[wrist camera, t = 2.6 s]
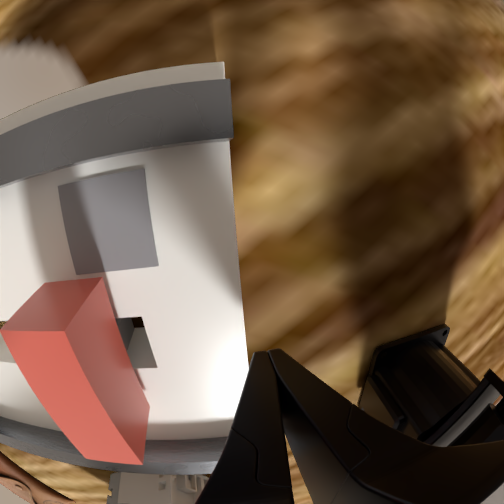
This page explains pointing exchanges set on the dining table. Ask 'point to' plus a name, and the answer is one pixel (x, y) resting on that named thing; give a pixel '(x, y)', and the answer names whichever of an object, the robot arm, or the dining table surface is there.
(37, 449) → the grey frame
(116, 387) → the lever
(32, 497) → the sunglasses case
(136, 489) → the circuit breaker
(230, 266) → the switch panel
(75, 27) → the dining table surface
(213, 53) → the dining table surface
